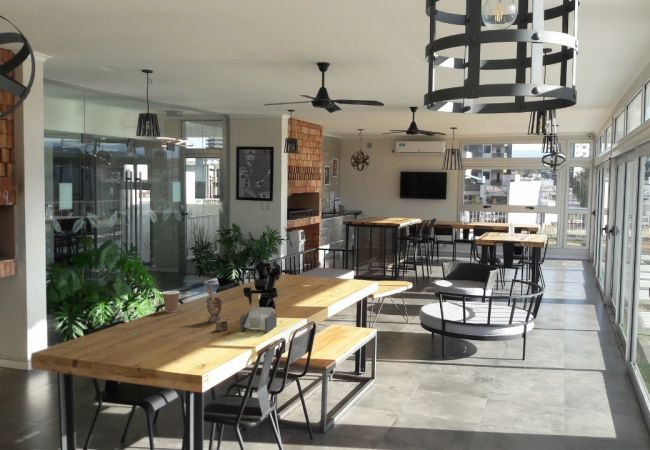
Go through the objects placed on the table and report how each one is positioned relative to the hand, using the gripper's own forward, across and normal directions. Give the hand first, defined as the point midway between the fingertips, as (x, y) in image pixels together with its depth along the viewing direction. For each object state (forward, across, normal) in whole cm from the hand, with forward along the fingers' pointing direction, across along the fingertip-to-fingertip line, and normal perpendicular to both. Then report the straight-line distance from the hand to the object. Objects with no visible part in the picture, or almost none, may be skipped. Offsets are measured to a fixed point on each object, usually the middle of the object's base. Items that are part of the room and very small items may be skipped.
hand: (258, 305), depth 341 cm
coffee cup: (-16, -64, +36) cm, 75 cm away
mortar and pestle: (-1, -31, +20) cm, 37 cm away
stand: (+13, -19, +5) cm, 24 cm away
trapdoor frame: (+10, 0, +8) cm, 13 cm away
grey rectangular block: (+11, 0, +2) cm, 11 cm away
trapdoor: (+6, +1, +6) cm, 9 cm away
